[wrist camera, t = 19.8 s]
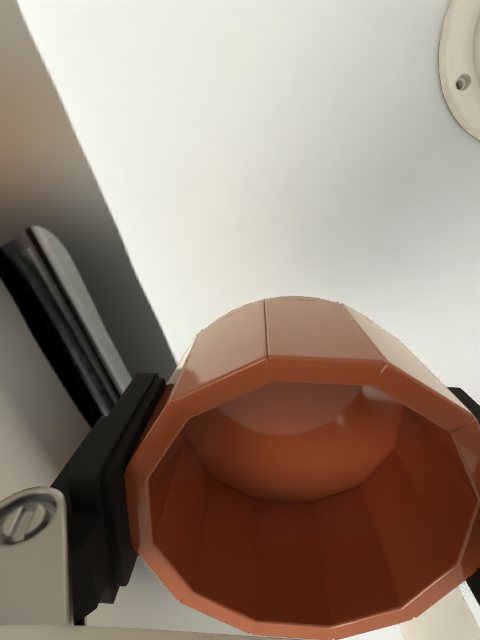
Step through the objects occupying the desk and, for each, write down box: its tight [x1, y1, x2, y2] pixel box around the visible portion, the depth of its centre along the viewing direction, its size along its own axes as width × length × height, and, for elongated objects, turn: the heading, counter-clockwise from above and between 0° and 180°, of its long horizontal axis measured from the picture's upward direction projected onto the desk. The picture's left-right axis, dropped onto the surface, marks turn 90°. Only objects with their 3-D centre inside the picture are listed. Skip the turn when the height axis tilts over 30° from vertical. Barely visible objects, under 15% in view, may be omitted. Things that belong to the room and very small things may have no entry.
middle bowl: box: [124, 296, 480, 640], centre depth 9 cm, size 7×7×5 cm
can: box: [399, 586, 480, 640], centre depth 31 cm, size 6×6×12 cm
